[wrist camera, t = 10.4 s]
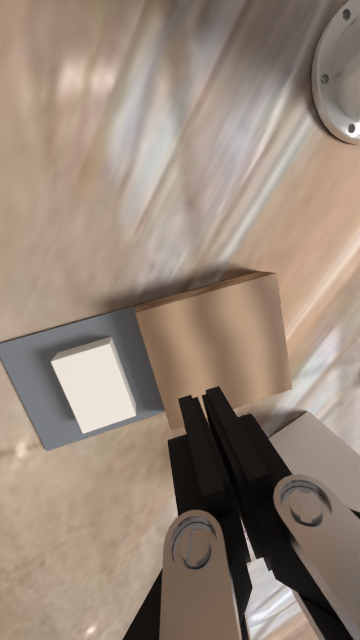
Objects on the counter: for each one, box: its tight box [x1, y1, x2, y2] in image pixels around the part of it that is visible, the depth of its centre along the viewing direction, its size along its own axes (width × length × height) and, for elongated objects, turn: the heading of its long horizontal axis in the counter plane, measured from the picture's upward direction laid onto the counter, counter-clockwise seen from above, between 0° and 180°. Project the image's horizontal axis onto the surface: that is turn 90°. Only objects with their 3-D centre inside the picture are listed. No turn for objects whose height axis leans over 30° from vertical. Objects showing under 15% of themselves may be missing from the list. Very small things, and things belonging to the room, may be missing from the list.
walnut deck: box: [135, 271, 292, 430], centre depth 29 cm, size 15×14×4 cm
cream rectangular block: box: [51, 336, 136, 434], centre depth 28 cm, size 6×9×2 cm, turn 15°
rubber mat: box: [0, 306, 166, 451], centre depth 29 cm, size 15×14×1 cm
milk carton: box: [269, 412, 360, 512], centre depth 28 cm, size 7×7×19 cm
